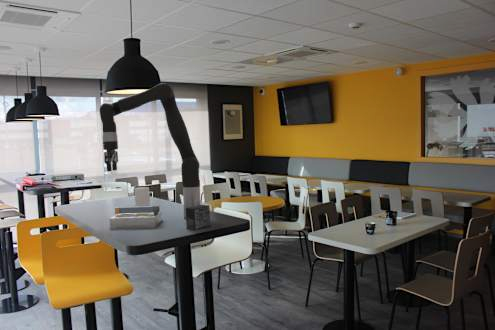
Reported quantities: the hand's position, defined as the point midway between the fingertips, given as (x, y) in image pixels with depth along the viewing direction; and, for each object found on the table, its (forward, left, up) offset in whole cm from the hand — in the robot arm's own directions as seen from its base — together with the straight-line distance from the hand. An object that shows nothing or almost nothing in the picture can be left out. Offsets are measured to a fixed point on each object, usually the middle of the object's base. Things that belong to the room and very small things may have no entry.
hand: (112, 170), depth 215 cm
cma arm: (-16, +12, -21) cm, 29 cm away
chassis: (-15, +12, -27) cm, 33 cm away
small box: (-48, +25, -28) cm, 61 cm away
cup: (-12, -13, -27) cm, 33 cm away
